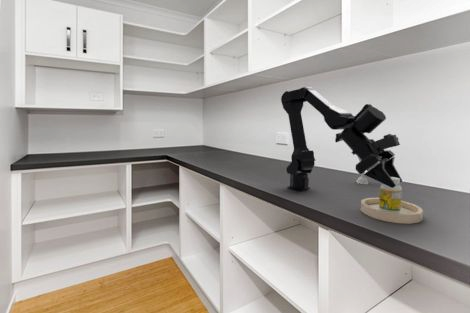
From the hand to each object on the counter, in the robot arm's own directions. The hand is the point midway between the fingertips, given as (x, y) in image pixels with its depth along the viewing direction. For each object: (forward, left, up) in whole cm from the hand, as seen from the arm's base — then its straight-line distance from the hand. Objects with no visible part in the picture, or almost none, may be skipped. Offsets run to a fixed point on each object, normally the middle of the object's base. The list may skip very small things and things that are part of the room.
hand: (397, 184), depth 70 cm
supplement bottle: (-2, 0, -8) cm, 8 cm away
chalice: (-23, +33, -9) cm, 41 cm away
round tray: (-1, 0, -9) cm, 9 cm away
